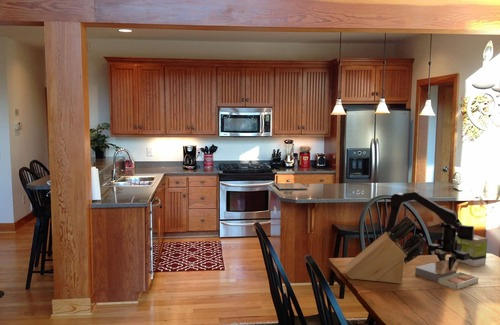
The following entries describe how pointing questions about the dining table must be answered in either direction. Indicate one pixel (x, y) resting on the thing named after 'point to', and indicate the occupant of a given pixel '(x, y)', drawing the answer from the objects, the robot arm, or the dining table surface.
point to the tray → (446, 283)
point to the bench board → (431, 272)
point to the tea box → (474, 250)
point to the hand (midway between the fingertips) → (446, 269)
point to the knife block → (387, 255)
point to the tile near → (455, 280)
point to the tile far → (465, 277)
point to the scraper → (445, 266)
